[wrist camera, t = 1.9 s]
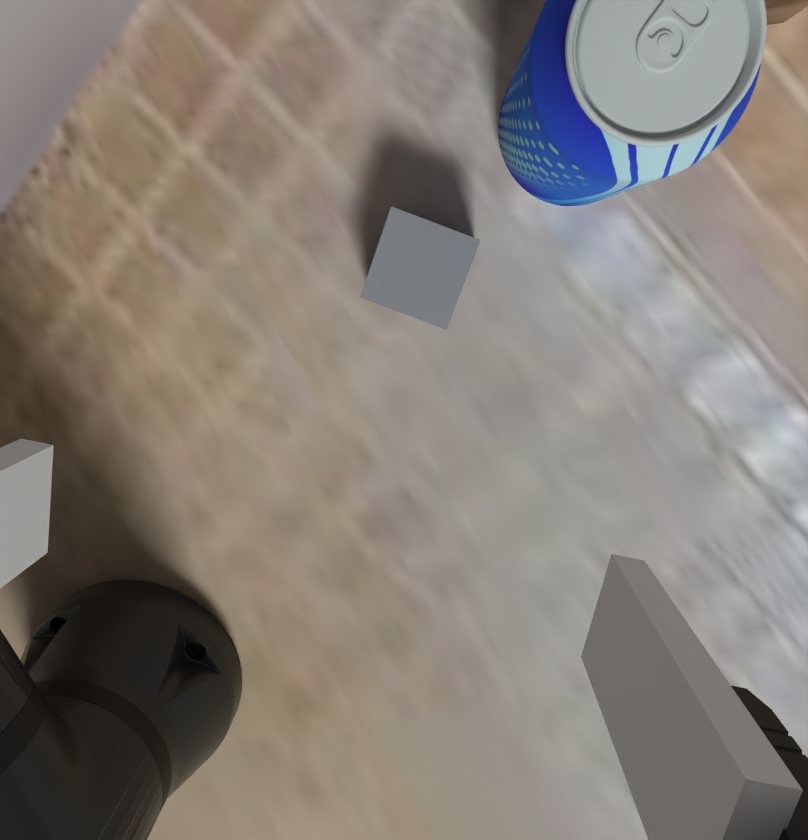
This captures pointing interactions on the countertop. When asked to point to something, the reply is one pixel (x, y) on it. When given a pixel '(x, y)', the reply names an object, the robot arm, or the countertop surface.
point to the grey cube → (419, 267)
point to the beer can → (626, 92)
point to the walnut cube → (783, 9)
